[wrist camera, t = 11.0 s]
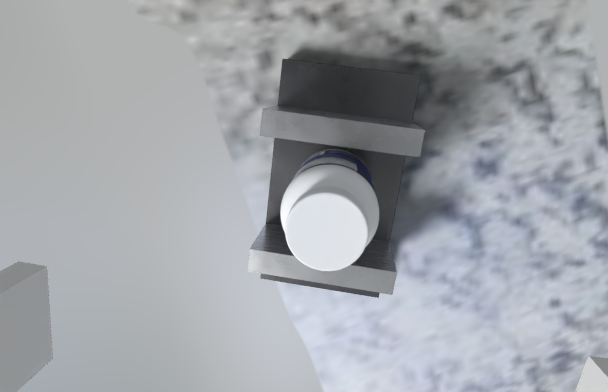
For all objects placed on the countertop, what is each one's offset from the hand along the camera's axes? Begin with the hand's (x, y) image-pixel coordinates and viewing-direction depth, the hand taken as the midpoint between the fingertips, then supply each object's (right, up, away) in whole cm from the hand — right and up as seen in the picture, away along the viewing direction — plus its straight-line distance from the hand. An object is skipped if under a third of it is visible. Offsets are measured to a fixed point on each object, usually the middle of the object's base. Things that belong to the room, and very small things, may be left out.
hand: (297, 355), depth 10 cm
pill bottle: (+2, +5, +19) cm, 19 cm away
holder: (+2, +5, +20) cm, 21 cm away
